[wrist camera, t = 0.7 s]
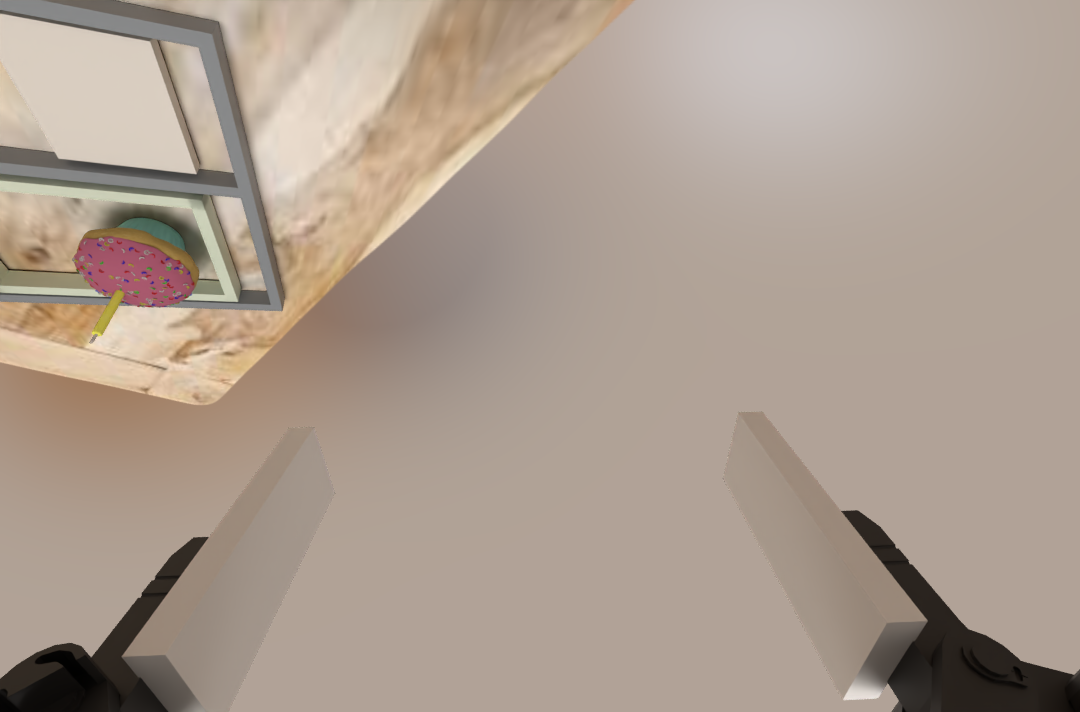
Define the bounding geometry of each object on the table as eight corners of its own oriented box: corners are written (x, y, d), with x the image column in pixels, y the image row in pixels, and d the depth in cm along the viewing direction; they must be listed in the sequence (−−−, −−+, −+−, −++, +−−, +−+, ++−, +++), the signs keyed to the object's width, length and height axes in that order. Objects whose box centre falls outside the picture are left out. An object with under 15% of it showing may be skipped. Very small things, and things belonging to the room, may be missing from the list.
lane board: (-29, 284, 44) (-40, 300, 43) (-417, -110, 23) (-458, -99, 22) (284, 298, 53) (282, 311, 52) (218, 21, 32) (211, 34, 30)
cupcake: (161, 279, 48) (125, 375, 41) (67, 220, 41) (5, 324, 34) (228, 249, 46) (201, 343, 40) (142, 183, 39) (92, 284, 33)
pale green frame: (-34, 275, 43) (-161, 452, 33) (-159, 147, 33) (-394, 345, 23) (241, 288, 50) (205, 436, 40) (206, 186, 40) (147, 349, 30)
